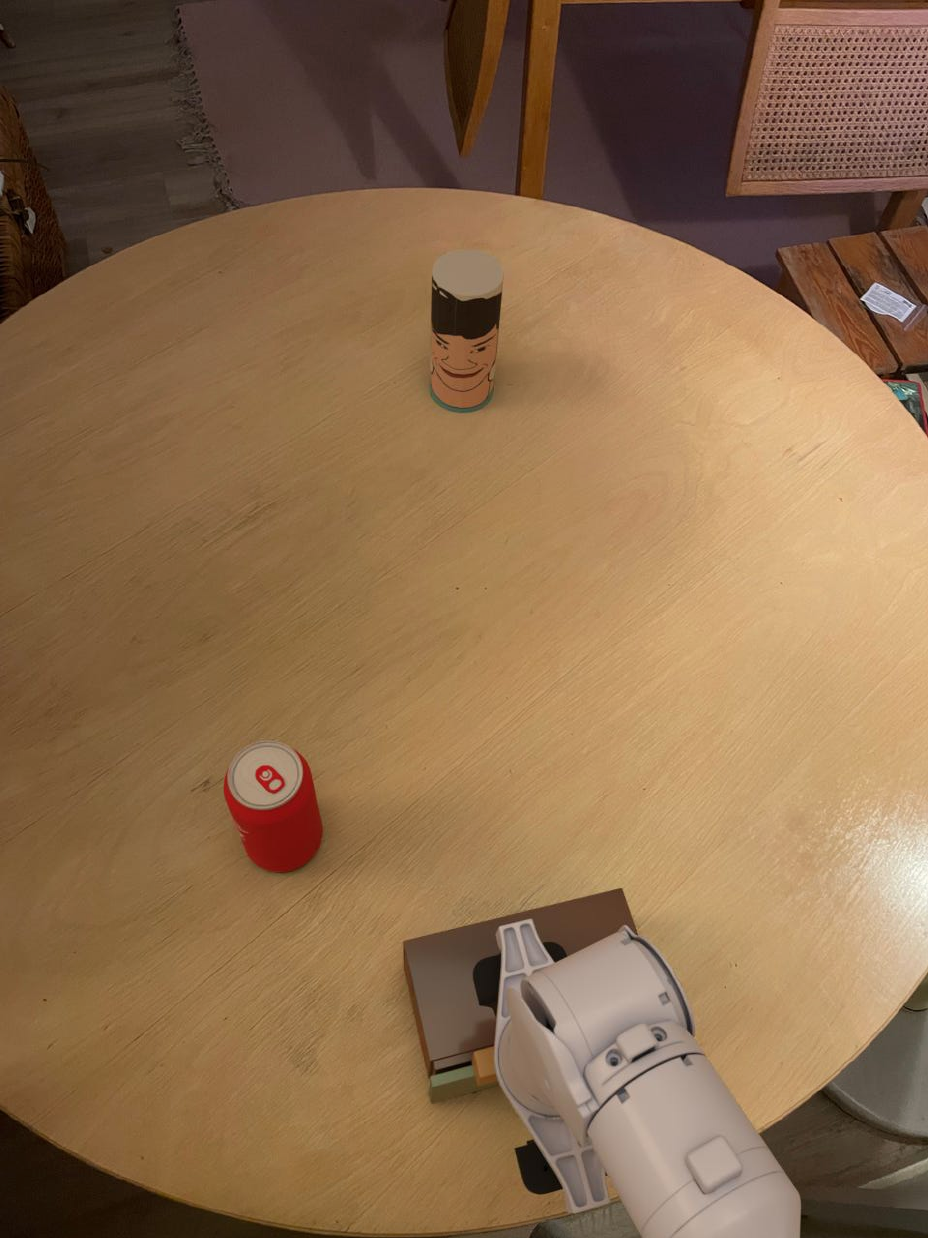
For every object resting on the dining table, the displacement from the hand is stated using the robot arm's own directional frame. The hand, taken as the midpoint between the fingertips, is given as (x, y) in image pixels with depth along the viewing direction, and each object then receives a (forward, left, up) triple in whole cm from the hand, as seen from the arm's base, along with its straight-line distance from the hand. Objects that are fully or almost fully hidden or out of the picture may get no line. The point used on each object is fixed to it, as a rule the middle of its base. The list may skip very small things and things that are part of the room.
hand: (528, 1074), depth 63 cm
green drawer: (+1, +2, -10) cm, 10 cm away
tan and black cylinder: (+68, -14, -11) cm, 70 cm away
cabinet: (+7, -3, -10) cm, 13 cm away
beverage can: (+23, +12, -11) cm, 28 cm away
